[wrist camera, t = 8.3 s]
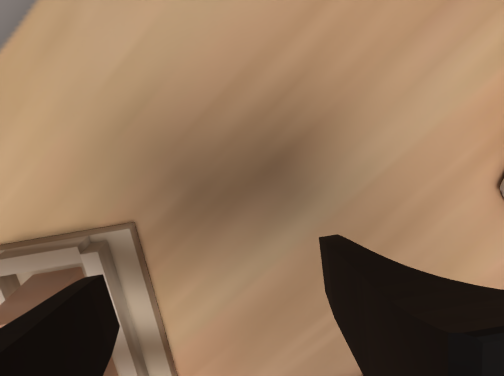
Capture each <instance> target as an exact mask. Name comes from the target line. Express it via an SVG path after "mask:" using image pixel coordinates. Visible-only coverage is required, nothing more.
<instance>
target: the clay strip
mask: <svg viewBox="0 0 504 376" xmlns="http://www.w3.org/2000/svg"><path fill="white" fill-rule="evenodd" d="M82 278H84V274H83V271H82V268H81V267H75V268H69V269H63V270H57V271H51V272H45V273H40V274H34V275H32V276H31V277H30V278H29V279H28V280H27V281H25V282H24V283H23V284H22V285H21V286H20V287H19V288H18V289H17V290H16V291H15V292H14V293H12V294H11V295H10V296H9V297H8V298H7V299H6V300H5V301H4V302H3V303H2V304H1V305H0V328H1V327H3V326H5V325H6V324H8V323H10V322H11V321H13V320H14V319H16V318H18V317H19V316H21V315H23V314H24V313H26V312H28V311H29V310H31V309H32V308H34V307H35V306H37V305H39V304H40V303H42V302H43V301H45V300H46V299H48V298H50V297H51V296H53V295H54V294H56V293H57V292H59V291H61V290H62V289H64V288H66V287H67V286H69V285H71V284H72V283H74V282H76V281H78V280H80V279H82ZM103 376H118V373H117V370H116V367H115V364H114V361H113V358H112V356H111V358H110V361H109V363H108V365H107V368H106V370H105V372H104V375H103Z"/></svg>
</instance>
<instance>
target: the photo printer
mask: <svg viewBox="0 0 504 376" xmlns="http://www.w3.org/2000/svg"><path fill="white" fill-rule="evenodd" d="M500 191H502V195H503V197H504V179H503V181H502V183H501V185H500Z"/></svg>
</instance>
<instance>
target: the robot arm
mask: <svg viewBox="0 0 504 376" xmlns="http://www.w3.org/2000/svg"><path fill="white" fill-rule="evenodd" d="M319 242H320V250H321V259H322V268H323V276H324V285H325V292H326V295H327V298H328V301H329V304H330V307H331V309H332V312H333V315H334V318H335V320H336V322H337V324H338V326H339V328H340V330H341V332H342V334H343V336H344V338H345V340H346V342H347V344H348V346H349V348H350V350H351V352H352V354H353V356H354V358H355V360H356V362H357V364H358V366H359V368H360V370H361V371H362V373H363V375H364V376H504V290H501V289H494V288H488V287H483V286H477V285H473V284H468V283H464V282H459V281H455V280H450V279H447V278H443V277H439V276H436V275H432V274H429V273H426V272H423V271H420V270H416V269H414V268H411V267H408V266H405V265H403V264H400V263H398V262H395V261H393V260H390V259H388V258H386V257H384V256H381V255H379V254H377V253H375V252H373V251H371V250H369V249H367V248H364V247H362V246H360V245H359V244H357V243H355V242H353V241H351V240H349V239H347V238H345V237H343V236H340V235H338V234H337V235H331V236H325V237H319ZM119 328H120V325H119V322H118V319H117V316H116V313H115V310H114V307H113V303H112V300H111V297H110V294H109V291H108V288H107V285H106V282H105V279H104V276H103V274H101V275H95V276H89V277H84V278H82V279H80V280H78V281H76V282H74V283H72V284H71V285H69V286H67V287H66V288H64V289H62V290H61V291H59V292H57V293H56V294H54V295H53V296H51V297H50V298H48V299H46V300H45V301H43V302H42V303H40V304H39V305H37V306H35V307H34V308H32V309H31V310H29V311H28V312H26V313H24V314H23V315H21V316H19V317H18V318H16V319H14V320H13V321H11V322H10V323H8V324H6V325H5V326H3V327H1V328H0V376H103V375H104V372H105V370H106V368H107V365H108V363H109V361H110V358H111V356H112V353H113V350H114V346H115V343H116V339H117V335H118V332H119Z"/></svg>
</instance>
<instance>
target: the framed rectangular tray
mask: <svg viewBox="0 0 504 376" xmlns="http://www.w3.org/2000/svg"><path fill="white" fill-rule="evenodd" d="M75 267H81V268H82V271H83V274H84V277H89V276H95V275H101V274H103V276H104V279H105V282H106V285H107V288H108V291H109V294H110V297H111V300H112V303H113V307H114V310H115V313H116V316H117V319H118V322H119V325H120V328H119V332H118V335H117V339H116V343H115V346H114V350H113V353H112V358H113V361H114V364H115V367H116V370H117V373H118V376H177V373H176V369H175V366H174V362H173V359H172V355H171V352H170V348H169V344H168V341H167V337H166V334H165V330H164V327H163V323H162V320H161V316H160V313H159V309H158V305H157V302H156V298H155V295H154V291H153V288H152V284H151V281H150V277H149V273H148V270H147V266H146V263H145V259H144V256H143V252H142V249H141V245H140V241H139V238H138V234H137V231H136V227H135V224H134V222H133V223H127V224H121V225H115V226H109V227H103V228H98V229H92V230H86V231H80V232H74V233H68V234H62V235H56V236H50V237H45V238H39V239H33V240H27V241H21V242H15V243H9V244H3V245H0V305H1V304H2V303H3V302H4V301H5V300H6V299H7V298H8V297H9V296H10V295H11V294H12V293H14V292H15V291H16V290H17V289H18V288H19V287H20V286H21V285H22V284H23V283H24V282H25V281H27V280H28V279H29V278H30V277H31V276H32V275H34V274H40V273H45V272H51V271H57V270H63V269H69V268H75Z"/></svg>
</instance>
